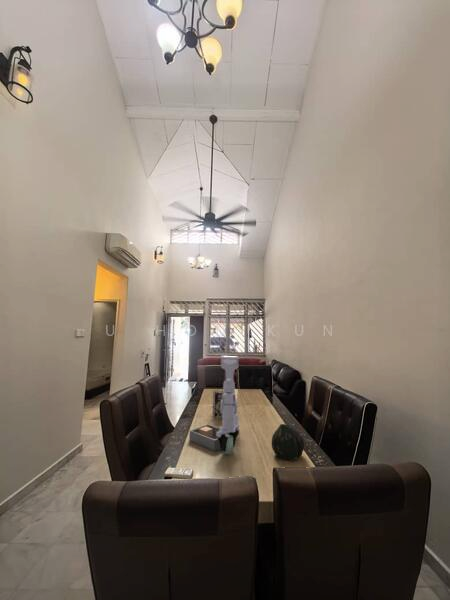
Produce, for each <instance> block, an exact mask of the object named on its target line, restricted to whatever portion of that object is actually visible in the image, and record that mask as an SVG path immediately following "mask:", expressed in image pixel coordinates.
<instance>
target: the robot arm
mask: <svg viewBox="0 0 450 600" xmlns="http://www.w3.org/2000/svg"><path fill="white" fill-rule="evenodd" d="M220 367H221V369H223V370H224V371H225V380H224V381H223V387H222V388H223V389H222V391H223V394H222V400H221V407H220V413H221V414H222V418H221V419H222V421H221V422H222V424H221V425H222V426H221V427H220V428H221V429H220V430H219V431H218V432H216V436H217V438H218V440H219V443H220V447H221V448H220V450H221V452H222V451H223V452H225V451H226V443H227V439H228V437H226V436H225V434H227V433H229V435H232V436H233V448H234V447H235V445H236V440H237V437H238V436H239V433H240V424H239V416H238V401H237V398H236V388H235V387H236V386H235V384H236V383H235V380H234V371H235V370H237V369H238V368H239V356H238V355H221V356H220Z"/></svg>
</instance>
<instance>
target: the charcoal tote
mask: <svg viewBox="0 0 450 600" xmlns="http://www.w3.org/2000/svg"><path fill="white" fill-rule="evenodd" d="M203 427H209V428H212V429H213V433H212V438H209V437H207V436H204V435H202V434H199V429H200V428H203ZM221 428H222V427H218V426H215V425H212V424H205V425H202V426H199V427H196V428H194V429H191V430H189V442H191V443H193V444H195V445H198V446H200V447H203V448H206V449H207V450H210V451H212V452H217V451H218V450H221V447H220V443H219V440H218V438H217V436H216V432H218V431H219V430H220V429H221ZM225 435H229V433H227V434H225Z"/></svg>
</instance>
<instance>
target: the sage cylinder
mask: <svg viewBox="0 0 450 600" xmlns="http://www.w3.org/2000/svg"><path fill="white" fill-rule="evenodd" d="M225 436H226V437H228V439H227V443H226V451H225V452H223V451H221V452H222V455H225V456H230V455H233V453H234V447H233V436H232V435H225Z"/></svg>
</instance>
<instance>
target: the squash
mask: <svg viewBox="0 0 450 600" xmlns="http://www.w3.org/2000/svg"><path fill="white" fill-rule="evenodd" d="M271 448H272V450H273V452H274V455H276V456H277V457H278V458H280V459H281V458H282V460H284V461H288V460H290V461H295V460H296V459H298V458H300V457H302V455H303V452H304V449H305V441H304V439H303V436H302V435H301V434H300V432H298V430H297V429H296V428H294V427H292V426H290V425H288V424H285V423H281V424H280V425H279V426H278V427H277V428H276V430H275V431H274V433H273V434H272V437H271Z"/></svg>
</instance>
